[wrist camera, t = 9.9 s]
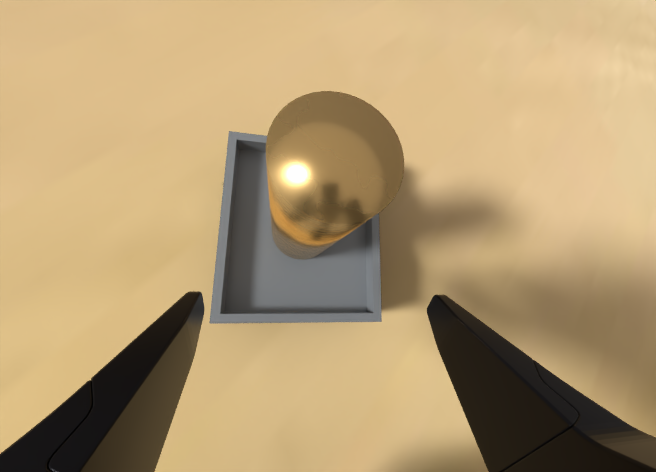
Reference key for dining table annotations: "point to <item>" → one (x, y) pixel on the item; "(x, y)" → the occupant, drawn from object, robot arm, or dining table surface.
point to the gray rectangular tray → (285, 257)
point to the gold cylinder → (328, 170)
